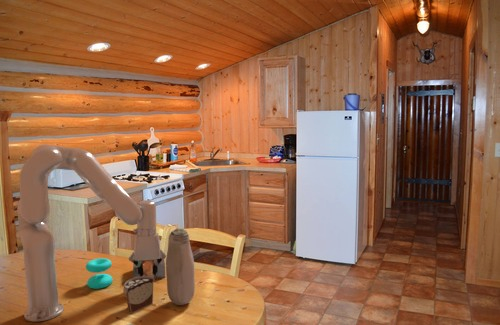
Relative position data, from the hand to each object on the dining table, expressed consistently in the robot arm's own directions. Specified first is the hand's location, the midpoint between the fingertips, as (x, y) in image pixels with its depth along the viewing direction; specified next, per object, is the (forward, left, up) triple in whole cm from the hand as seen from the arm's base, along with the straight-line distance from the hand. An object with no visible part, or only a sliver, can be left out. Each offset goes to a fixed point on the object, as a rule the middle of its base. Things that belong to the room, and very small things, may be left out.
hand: (147, 274), depth 168 cm
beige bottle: (-19, -12, -5) cm, 23 cm away
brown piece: (-17, +4, -5) cm, 18 cm away
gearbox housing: (+13, -1, -5) cm, 14 cm away
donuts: (+7, +19, -5) cm, 21 cm away
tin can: (0, 0, -2) cm, 2 cm away
